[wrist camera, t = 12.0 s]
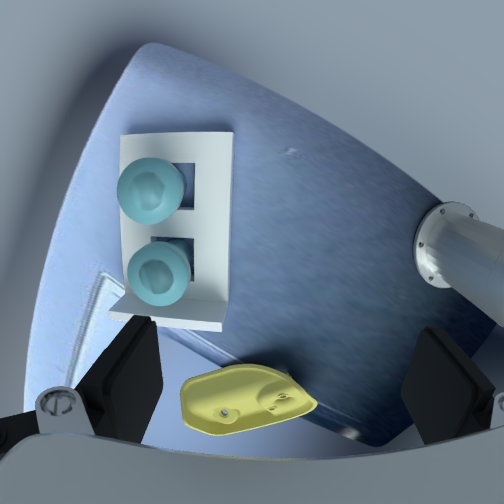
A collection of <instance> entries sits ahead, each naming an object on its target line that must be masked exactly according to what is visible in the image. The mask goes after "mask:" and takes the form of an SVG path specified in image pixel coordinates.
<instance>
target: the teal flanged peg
mask: <svg viewBox="0 0 504 504" xmlns="http://www.w3.org/2000/svg"><path fill="white" fill-rule="evenodd" d="M191 259H192V250H191V248H190V246H189V245H188V244H187V243H186V242H185V241H183V240H181V239H173V240H170V241H169V242H163V241H155V242H151V243H148V244H146V245H145V246H143V247H142V248H141V249H139V250H138V251H137V252H135V253H134V254H133V256H132V257H131V259H130V261H129V263H128V268H127V277H128V281H129V284H130V286H131V288H132V290H133V291H134V293H135V294H136V295H137V296H138V297H139V298H140V299H141V300H143V301H144V302H146V303H148V304H151V305H154V306H167V305H170V304H173V303H175V302H176V301H177V300H179V299H180V298H181V296H182V295H183V293H184V292H185V290H186V288H187V287H188V285H189V282H190V278H191V269H190V264H189V263H190V261H191Z"/></svg>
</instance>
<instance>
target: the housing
mask: <svg viewBox="0 0 504 504" xmlns="http://www.w3.org/2000/svg"><path fill="white" fill-rule="evenodd" d="M234 141H235V134H234V133H233V132H167V133H144V134H128V135H121V139H120V175H121V174H122V172H123V170H124V169H125V168H126V167H127V166H128V165H129V164H130V163H132V162H133V161H135V160H138V159H141V158H161V159H164V160H167V161H168V162H170V163H195V198H194V207H179V208H178V209H177V210H176V211H175V213H173V214H172V215H171V216H170V217H168V218H166V219H165V220H163V221H161V222H159V223H156V224H151V225H146V224H140V223H137V222H135V221H133V220H132V219H130V218H129V217H128V216H127V215H126V214H125V213H124V212H123V210H122V209H121V207H120V227H121V246H122V261H123V274H124V285H125V294H124V295H123V296H122V297H121V298H120V299H119V300H118V301H117V302H116V304H115V305H114V306H113V307H112V308H111V309H110V310H109V311H108V312H109V319H110V320H116V321H123V322H128V321H129V320H130V318H131V317H132V316H133V315H143V316H150V317H151V320H152V321H155V322H156V325H157V326H163V327H172V328H182V329H192V330H203V331H215V332H222V329H223V325H224V321H225V317H226V313H227V309H228V305H229V284H230V246H231V215H232V187H233V163H234ZM157 237H177V238H194V275H191V278H190V282H189V285H188V287H187V288H186V290H185V292H184V293H183V295H182V296H181V298H180V299H179V300H177V301H176V302H175V303H173V304H170V305H167V306H154V305H151V304H148V303H146V302H144V301H143V300H141V299H140V298H139V297H138V296H137V295H136V294H135V293H134V291H133V290H132V288H131V286H130V284H129V281H128V277H127V268H128V263H129V261H130V259H131V257H132V256H133V254H134V253H135V252H137V251H138V250H139V249H141V248H142V247H143V246H145V245H146V244H148V243H151V242H155V241H157Z"/></svg>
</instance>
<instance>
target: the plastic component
mask: <svg viewBox="0 0 504 504" xmlns="http://www.w3.org/2000/svg"><path fill="white" fill-rule="evenodd" d="M180 400H181V410H182V418H183V422H184V424H185V425H186V426H188V427H191V428H193V429H195V430H198V431H200V432H203V433H205V434H208V435H216V436H217V435H228V434H233V433H237V432H242V431H246V430H250V429H255V428H259V427H263V426H267V425H271V424H274V423H278V422H282V421H286V420H289V419H292V418H295V417H298V416H301V415H304V414H306V413H308V412H310V411H312V410H313V409H314V408H315V407H316V406H317V401H316V400H315V398H314V397H313V396H312V395H311V394H310V393H309V392H308V391H306V390H305V389H303V388H302V387H301V386H300V385H299V384H297V383H296V382H295V381H294V380H293V379H292V377H291V376H289V373H286V374H284V373H282V372H280V371H277V370H275V369H272V368H270V367H266V366H262V365H256V364H238V365H232V366H228V367H224V368H221V369H218V370H215V371H212V372H209V373H205V374H202V375H199V376H195V377H192V378H189V379H188V380H186V381H185V382H184V384H183V385H182V387H181V391H180ZM222 410H226V411H227V412H228V414H224V413H223V412H222Z"/></svg>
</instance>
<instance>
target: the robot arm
mask: <svg viewBox="0 0 504 504" xmlns="http://www.w3.org/2000/svg"><path fill="white" fill-rule="evenodd" d="M440 210H441V211H440ZM419 242H420V244H419ZM413 255H414V262H415V265H416V268H417V270H418V272H419V274H420V275H421V276H422V277H423V279H424V280H425V281H427V282H428V283H429V284H431V285H433V286H435V287H439V288H449V287H453V288H454V289H455V290H456V291H458V292H459V293H460V294H462V295H463V296H464V297H466V298H467V299H468V300H469V301H471V302H472V303H473V304H474V305H476V306H477V307H478V308H479V309H481V310H482V311H483V312H484V313H486V314H487V315H488V316H489V317H491V318H492V319H493V320H494V321H496V322H497V323H498V324H500V325H501V326H503V327H504V230H503V229H501V228H498V227H495V226H493V225H490V224H487V223H484V222H481V221H479V218H478V217H477V215H476V214H475V212H474V211H473V210H472V209H471V208H470V207H468V206H466V205H464V204H461V203H459V202H445V203H442V204H439V205H437V206H436V207H434V208H433V209H432V210H430V211H429V212H428V213H427V214H426V216H425V217H424V218H423V220H422V221H421V223H420V225H419V227H418V229H417V232H416V235H415V240H414V246H413ZM162 390H163V377H162V370H161V362H160V354H159V345H158V335H157V325H156V322H155V321H152V320H151V317H150V316H143V315H133V316H132V317H131V318H130V320H129V321H128V322H127V323H126V324H125V326H124V327H123V328H122V329H121V331H120V332H119V333H118V334H117V336H116V337H115V338H114V340H113V341H112V342H111V343H110V345H109V346H108V347H107V348H106V349H105V350H104V351H103V352H102V354H101V355H100V356H99V357H98V359H97V360H96V361H95V363H94V364H93V365H92V366H91V368H90V369H89V370H88V372H87V373H86V374H85V376H84V377H83V378H82V379H81V381H80V382H79V383H78V385H77V386H76V387H75V389H72V388H69V387H64V386H58V387H52V388H49V389H47V390H45V391H43V392H42V393H41V394H40V395H39V396H38V397H37V399H36V401H35V409H36V410H33V411H29V412H25V413H21V414H17V415H13V416H9V417H4V418H0V504H504V393H500V394H498V395H497V396H496V397H495V399H494V398H493V396H492V394H493V393H494V391H495V387H494V385H493V384H492V383H491V382H490V381H489V379H488V378H487V377H486V376H485V375H484V374H483V372H481V370H480V369H479V368H478V367H477V366H476V364H475V363H474V362H473V361H472V360H471V359H470V358H469V357H468V355H467V354H466V353H465V352H464V351H463V350H462V349H461V348H460V347H459V346H458V344H457V343H456V342H455V341H454V340H453V339H452V338H451V337H450V336H449V335H448V334H447V333H446V331H445V330H444V329H443V328H442V327H440V326H430V327H425V329H424V330H423V331H421V332H420V334H419V337H418V340H417V344H416V347H415V350H414V353H413V356H412V359H411V362H410V365H409V368H408V371H407V374H406V377H405V379H404V382H403V385H402V388H401V397H402V399H403V401H404V403H405V405H406V407H407V409H408V411H409V413H410V415H411V417H412V419H413V421H414V423H415V425H416V427H417V429H418V432H419V434H420V436H421V438H422V440H423V442H424V444H425V445H423V446H417V447H412V448H406V449H400V450H393V451H387V452H379V453H371V454H362V455H353V456H339V457H323V458H250V457H234V456H222V455H212V454H203V453H194V452H187V451H180V450H173V449H167V448H160V447H154V446H149V445H143V444H141V441H142V439H143V436H144V434H145V431H146V429H147V427H148V424H149V422H150V419H151V417H152V414H153V412H154V410H155V407H156V405H157V402H158V400H159V398H160V395H161V393H162Z"/></svg>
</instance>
